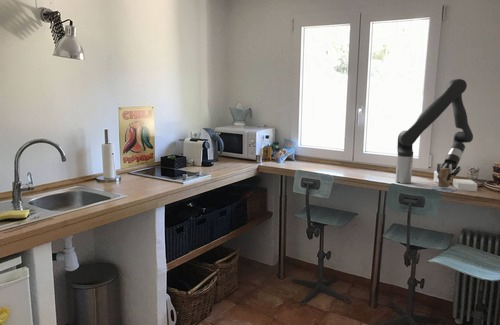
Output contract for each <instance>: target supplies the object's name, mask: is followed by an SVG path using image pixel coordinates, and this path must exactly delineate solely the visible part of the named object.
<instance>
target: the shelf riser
mask: <svg viewBox="0 0 500 325" xmlns="http://www.w3.org/2000/svg"><path fill="white" fill-rule="evenodd" d="M452 187H453V188H456V189H458V190H457V191H467V192H477V191H478V184H477V183H476V182H475V181H473V180H472V179H462V178H452Z"/></svg>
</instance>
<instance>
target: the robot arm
mask: <svg viewBox="0 0 500 325" xmlns="http://www.w3.org/2000/svg"><path fill="white" fill-rule="evenodd" d="M467 87H468V84H467V81H466V80H465V79H463V78H457V79H452V80H449V82H448V83H447V88H446V90H445V91H444V92H443V94H441V95H440V96H439V97H437V98H436V99H435V100H434V101H432V102H431V103H429V105H427V106H426V107H425V109H424V110H422V112H421V113H420V114H419V116H418V117H417V119H416V120H415V122H414V124H412V126H410V127H409V128H408V129H407V130H402V131H400V132H399V134H398V137H397V146H396V148H397V149H396V150H397V158H396V159H397V160H396V161H397V162H396V168H395V170H396V171H395V182H396V183H398V182H400V184H411V183H412V177H413V176H412V175H413V163H414V162H413V161H414V160H413V159H414V150H413V145H414V143H415V142H416V140H418V138H419V137H420V136H421V134H422V133H424V131H425V130H427V129H428V128H429V127H430V126H431V125H432V124H433V123H434V122H435V121H436V120H437V119H438V118H439V117H440V116H441V115H442V114H443V112H445V111H446V110H447V108H448V107H449V106H450V105H451V106H452V112H453V118H454V124H455V127H456V129H460V130H462V131H456V132H455V133H454V134H453V141H452V145H451V148H450V150H449V151H448V152H447V155H446V157H445V158H444V160H443V161H444V162H443V163H436V164H437V165H436V171H437V173H438V176H437V177H438V179H439V173H440V168H441V167H442V166H443V167H442V168H449V169H450V172H449V175H448V177H447V178H446V180H447V181H449V180H450V181H451V178H452V177H456V176H457V175H459V173H460V172H461V170H462V168H461V166H458V165H459V163H460V161H461V160H462V157H463V156H462V155H463V154H464V151H465V149H466V146H465V144H466V143H471V142H472V141H473V139H474V133H473V131H472V130H471V127H470V125H469V122H468V114H467V111H466V107H465V105H464V101H463V96H462V95H463V93H465V91H466V90H467ZM464 143H465V144H464Z"/></svg>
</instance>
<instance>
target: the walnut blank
mask: <svg viewBox="0 0 500 325" xmlns="http://www.w3.org/2000/svg"><path fill="white" fill-rule="evenodd" d="M449 172H450V169H449V168H440V173H439V183H438V185H437V186H438V187H444V188H447V187H450V183H451V179H450V180H449V181H447V180H446V178H447V177H448V175H449Z"/></svg>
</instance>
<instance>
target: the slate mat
mask: <svg viewBox="0 0 500 325" xmlns="http://www.w3.org/2000/svg"><path fill="white" fill-rule="evenodd" d="M430 188H431V189H430V190H432V189H437V190H439V192H444V193H452V192H455V191H456V192H457V191H459V190H458V189H456V188H455V187H450V186H449V187H447V188H444V187H438V185H436V186H432V187H430ZM437 190H436V191H437Z"/></svg>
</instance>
